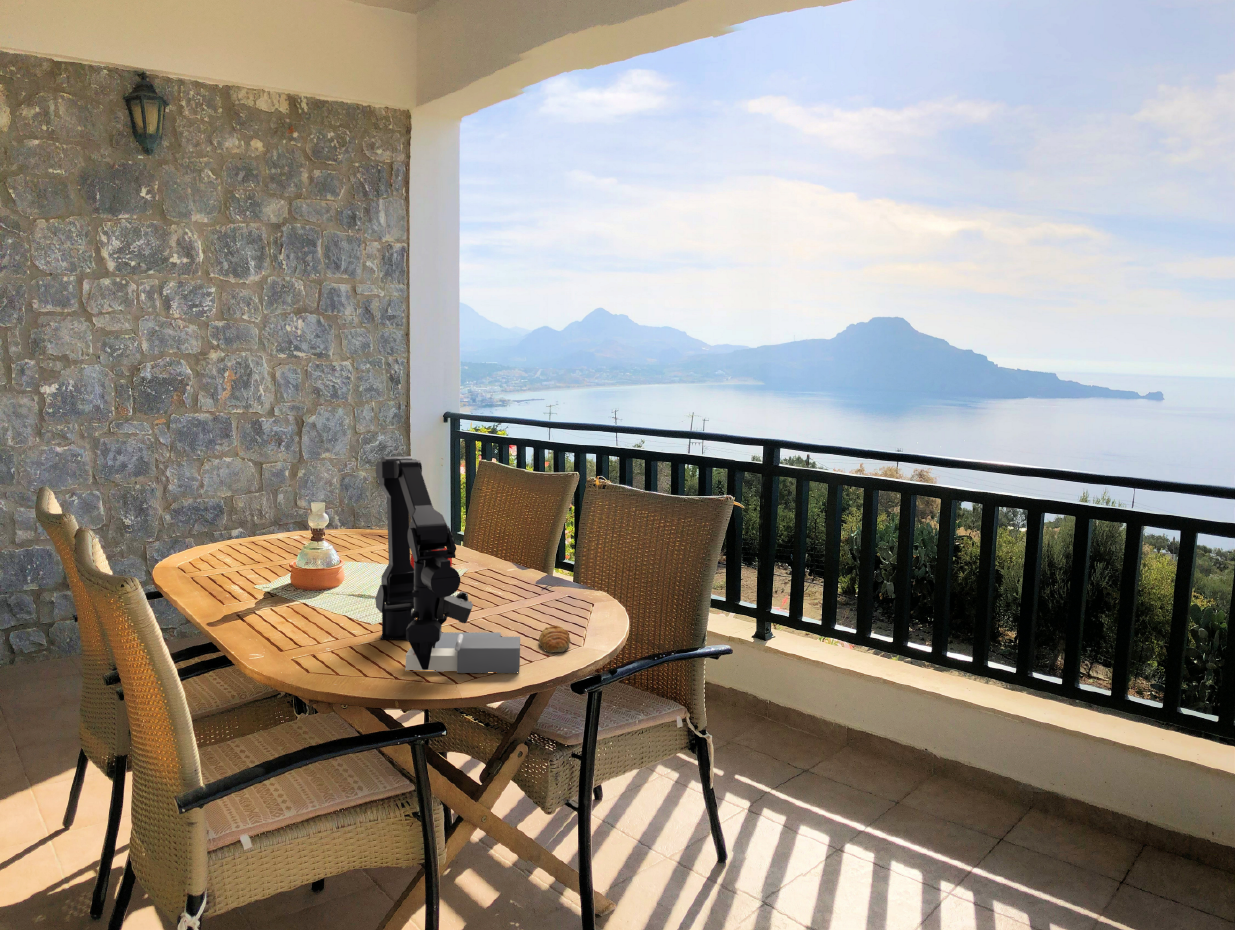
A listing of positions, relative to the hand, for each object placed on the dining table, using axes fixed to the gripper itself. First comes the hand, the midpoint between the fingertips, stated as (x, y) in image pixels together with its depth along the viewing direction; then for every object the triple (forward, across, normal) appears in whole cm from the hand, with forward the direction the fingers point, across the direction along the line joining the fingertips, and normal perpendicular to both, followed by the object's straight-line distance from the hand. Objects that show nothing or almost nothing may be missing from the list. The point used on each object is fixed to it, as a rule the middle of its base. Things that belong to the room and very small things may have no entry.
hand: (428, 661), depth 170 cm
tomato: (+2, +73, +8) cm, 73 cm away
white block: (+2, 0, -3) cm, 3 cm away
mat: (+1, +14, -5) cm, 15 cm away
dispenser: (+1, 0, -12) cm, 12 cm away
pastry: (+2, +13, -26) cm, 29 cm away
